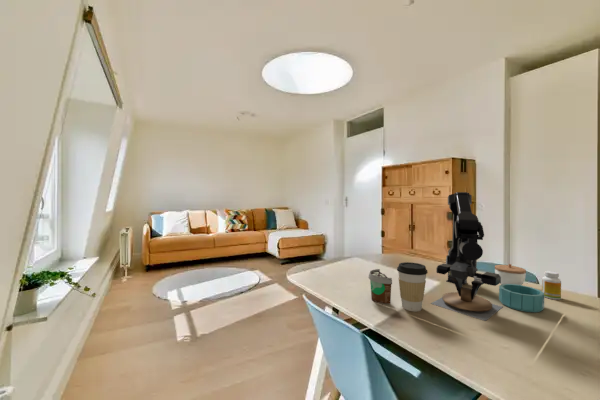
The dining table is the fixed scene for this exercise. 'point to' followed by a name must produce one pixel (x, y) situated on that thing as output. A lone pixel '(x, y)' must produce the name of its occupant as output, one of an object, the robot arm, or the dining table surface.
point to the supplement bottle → (551, 285)
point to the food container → (380, 287)
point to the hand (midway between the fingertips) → (466, 297)
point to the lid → (467, 301)
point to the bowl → (521, 297)
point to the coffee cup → (412, 285)
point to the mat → (479, 315)
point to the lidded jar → (510, 274)
